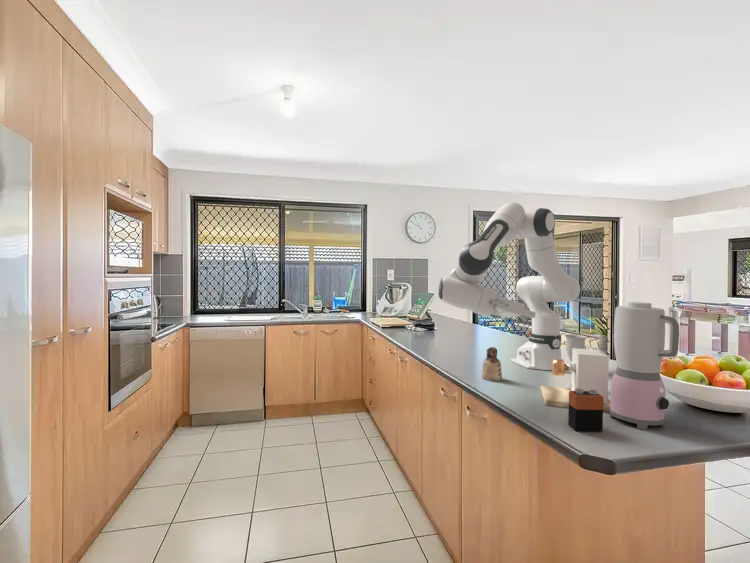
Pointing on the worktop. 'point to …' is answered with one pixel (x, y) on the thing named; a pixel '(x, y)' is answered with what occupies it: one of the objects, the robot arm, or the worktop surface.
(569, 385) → the chalice
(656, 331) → the blender
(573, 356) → the switch box
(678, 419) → the worktop surface
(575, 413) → the battery
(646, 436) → the worktop surface
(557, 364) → the knob
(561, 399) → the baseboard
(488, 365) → the figurine
